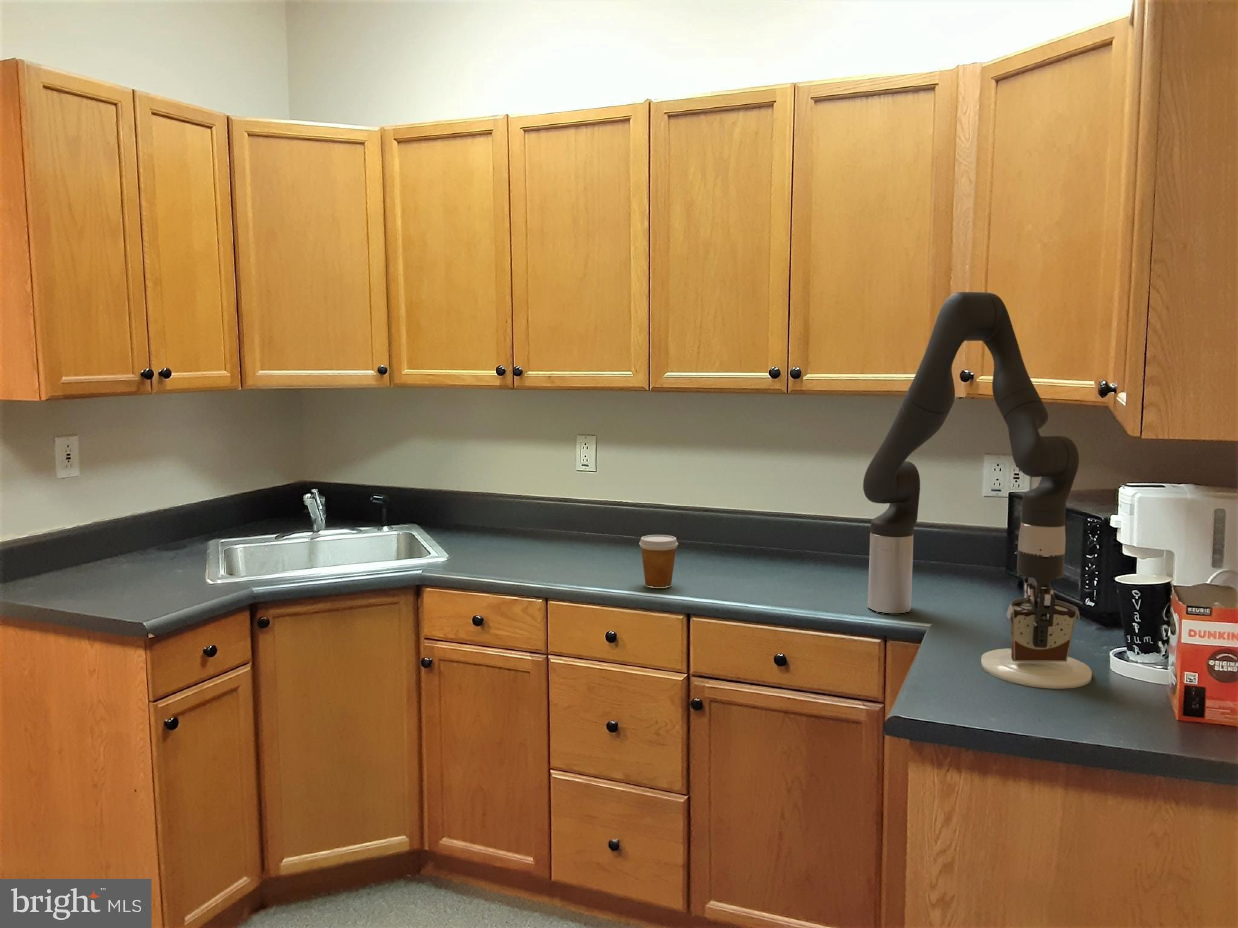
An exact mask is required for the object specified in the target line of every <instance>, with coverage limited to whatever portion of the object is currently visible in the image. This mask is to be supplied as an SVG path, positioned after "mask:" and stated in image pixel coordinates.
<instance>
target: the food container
mask: <svg viewBox="0 0 1238 928" xmlns="http://www.w3.org/2000/svg"><path fill="white" fill-rule="evenodd" d="M1029 601H1030V598H1029ZM1036 608H1037V607H1036ZM1006 617H1007V618H1008V620H1010V647H1011V648H1010V649H1011V658H1012V660H1013V661H1014V662H1067V659H1068V657H1069V654H1070V648H1071V644H1072V639H1073V635H1074V631H1075V630H1074V629H1075V625H1076V622H1077V619H1078V620H1081V619H1080V611H1079V607H1077V606H1075V605H1073V604H1070V603H1068V602H1065V601H1062V600H1057V599H1055V608H1054V617H1053V626H1052V627H1048V640H1047V647H1046V648H1037V647H1034V645H1033V631H1034V624H1033V621H1034V613H1033V612H1031V611H1030V603H1027V602H1025V598H1024V597H1019V598H1016V599H1013V600H1012V601H1011V603H1010V604H1009V606H1008V608H1007V611H1006ZM1041 619H1045V614H1042V615H1041Z"/></svg>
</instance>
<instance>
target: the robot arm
mask: <svg viewBox="0 0 1238 928" xmlns="http://www.w3.org/2000/svg"><path fill="white" fill-rule="evenodd" d="M978 341H979V342H982V343H983V344H984V345H985V346H986V348H987V350H988V351H989V353H990V355H991V357H992V359H993V360H992V361H993V374H992V383H991V388H992V389H991V390H992V396H993V400H994V402H995V404H996V406H997V408H998V411H999V412H1000V415H1001V416H1002V418H1003V420H1004V422H1005V424H1006V426H1007V429H1008V430H1007V431H1008V437H1009V442H1010V443H1009V444H1010V449H1011V454H1012V459H1013V462H1014V464H1015V466H1016V467H1017V468H1018V470H1019V471H1020V472H1021V473H1023V474H1024V475H1025V476H1027V477H1029V478H1030V477H1031V478H1040V480H1039V483H1038V484H1037V486H1036V487H1034V488H1032V489H1029V490H1027V491H1026V492H1024V494H1023V496H1022V501H1021V515H1020V516H1021V517H1020V526H1019V527H1020V528H1019V532H1018V543H1017V558H1016V559H1017V561H1016V572H1017V573H1018V574H1019V575H1021V576H1022V577H1023V598H1025V602H1027V603H1030V611H1031V612H1033V613H1034V621H1033V624H1034V631H1033V645H1034V647H1037V648H1046V647H1047V640H1048V627H1052V626H1053V617H1054V608H1055V600H1057V596H1056V594H1055V593H1054V588H1053V587H1052V586H1051V581H1053V580H1058V579H1061V578H1063V576H1064V574H1065V572H1064V570H1065V558H1066V557H1065V554H1066V540H1067V539H1066V526H1065V525H1066V510H1067V508H1066V507H1067V502H1068V497H1069V496H1070V493H1071V490H1072V487H1073V485H1074V481H1075V478H1076V476H1077V473H1078V469H1079V464H1080V454H1079V450H1078V447H1077V445H1076V443H1075V442H1074V441H1073V440H1072V439H1071V438H1069V437H1067V436H1063V435H1052V436H1051V435H1049V436H1048V435H1046V436H1042V435H1041V433H1040V431H1039V430H1040V429H1041V428H1043V427H1044V426H1045V425H1046V424H1047V422H1048V421H1049V413H1048V410H1047V408H1046V406H1045V404H1044V402H1043V400H1042V398H1041V397H1040V395H1039V393H1038V390H1037V389H1036V387H1035V385H1034V384H1033V381H1032V379H1031V378H1030V375H1029V373H1028V370H1027V367H1026V365H1025V362H1024V359H1023V355H1022V353H1021V350H1020V346H1019V343H1018V339H1017V336H1016V333H1015V330H1014V327H1013V324H1012V321H1011V317H1010V313H1009V312H1008V309H1007V306H1006V304H1005V303H1004V300H1002V298H1001V297H1000V296H999V295H997V294H996V293H993V292H988V291H987V292H985V291H984V292H982V291H978V292H977V291H959V292H955V293H952V294H951V295H949V296H948V297H947V298H946V299H945V301H944V302H943V303H942V306H941V307H940V309H939V312H938V314H937V317H936V320H935V323H934V325H933V329H932V332H931V336H930V337H929V340H928V344H927V346H926V349H925V352H924V354H923V357H922V359H921V360H920V363H919V366H918V368H917V371H916V372H915V374H914V377H913V379H912V382H911V384H910V386H909V387H908V389H907V392H906V393H905V395H904V398H903V399H902V402H901V405H900V407H899V409H898V411H897V414H896V416H895V418H894V420H893V422H892V424H891V426H890V429H889V430H888V432H887V434H886V436H885V438H884V439H883V441H882V443H881V445H880V447H879V448H878V450H877V451H876V453H875V454H874V456H873V457H872V459H871V461H870V463H869V464H868V466H867V468H866V470H865V473H864V477H863V483H862V484H863V485H862V490H863V493H864V496H865V498H866V499H867V500H868V501H870V502H871V503H873V504H874V503H875V504H880V505H881V504H882V505H883V504H885V505H886V504H889V506H888V508H887V509H885V511H884V512H883V513H881V514H879V515H877V516H876V517H874V518H872V520H871V522H870V525H869V533H870V534H869V555H868V556H869V559H868V561H869V562H868V563H869V564H868V589H867V591H868V592H867V608H868V607H869V608H870V609H872V610H875V611H878V612H886V613H904V612H909V611H910V610H911V609H912V587H913V586H912V585H913V584H912V583H913V564H914V563H913V562H914V561H913V558H914V557H913V556H914V534H915V526H916V525H917V521H918V514H919V505H920V503H919V502H920V494H921V478H920V477H921V476H920V473H919V470H918V468H917V466H916V464H914V463H913V462H911V461H908V460H907V459H908V458H909V456H911V454H913V453H914V452H915V451H916V450H918V449H919V448H920V447H921V446H922V445H924V444H925V443H926V442H927V441H928V440H930V439H931V438H932V437H933V436H934V435H935V434H936V433H937V432H939V431H940V429H941V428H942V426H943V425H944V423H945V421H946V419H947V417H948V416H949V413H950V411H951V409H952V408H953V405H954V403H955V398H956V390H955V389H956V388H955V382H954V377H953V372H952V371H953V364H954V360H955V358H956V356H957V354H958V352H959V350H960V348H961V346H962V345H963V343H964V342H978ZM1029 598H1030V601H1029ZM1036 607H1037V608H1036ZM870 609H869V610H870ZM872 610H871V611H872ZM878 612H877V613H878ZM910 612H911V611H910ZM910 612H909V613H910ZM1042 614H1045V619H1041V615H1042Z"/></svg>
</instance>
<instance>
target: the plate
mask: <svg viewBox="0 0 1238 928" xmlns="http://www.w3.org/2000/svg"><path fill="white" fill-rule="evenodd" d="M980 659H981V660H980V667H981V668H982V670H984V671H985V673H987V674H988V675H991V676H993V677H995V678H998V679H1000V680H1003V681H1005V682H1009V683H1012V684H1016V685H1022V686H1026V687H1032V688H1040V689H1056V690H1057V689H1059V690H1061V689H1063V690H1064V689H1076V688H1081V687H1083V686H1087V685H1089V684H1090V683H1091V681H1092V676H1093V675H1092V674H1093V672H1092V669H1091V667H1089V666H1088V664H1086V663H1084V662H1082V661H1081V660H1078V659H1076V658H1073V657H1070V656H1068V659H1067V662H1014V661H1013V660H1012V658H1011V648H999V649H993V650H989V651H986V652H985V653H983V654H982V655H981V658H980Z"/></svg>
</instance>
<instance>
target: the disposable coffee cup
mask: <svg viewBox="0 0 1238 928" xmlns="http://www.w3.org/2000/svg"><path fill="white" fill-rule="evenodd" d="M638 545H639V547H640V549H641V558H642V568H643V575H644V576H643V577H644V582H645V584H646V585H647V586H653V587H666V586H670V585H671V586H672V582H673V574H674V565H675V559H676V551H677V547H678V545H679V542H678V541H677V537H675V536H673V535H667V534H649V535H643V536H641V538H640V541H639V543H638ZM646 585H645V586H646Z"/></svg>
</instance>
